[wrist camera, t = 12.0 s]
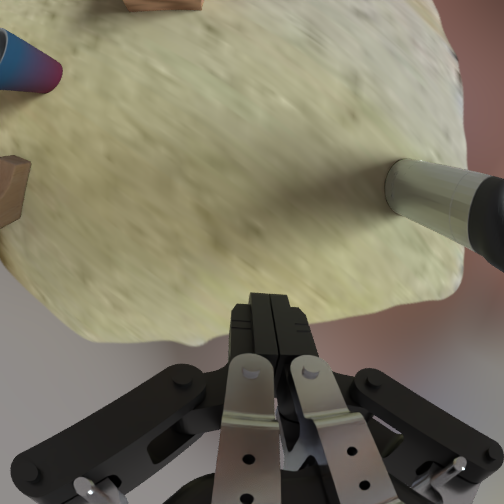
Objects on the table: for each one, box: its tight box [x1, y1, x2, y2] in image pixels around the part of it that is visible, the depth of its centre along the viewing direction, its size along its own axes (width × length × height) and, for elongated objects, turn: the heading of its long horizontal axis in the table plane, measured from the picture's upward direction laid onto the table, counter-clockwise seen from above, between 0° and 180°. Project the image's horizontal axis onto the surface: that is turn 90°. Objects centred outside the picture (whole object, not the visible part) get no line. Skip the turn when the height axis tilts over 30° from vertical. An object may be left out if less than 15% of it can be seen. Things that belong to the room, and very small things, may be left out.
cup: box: [0, 28, 63, 93], centre depth 19 cm, size 7×7×15 cm
